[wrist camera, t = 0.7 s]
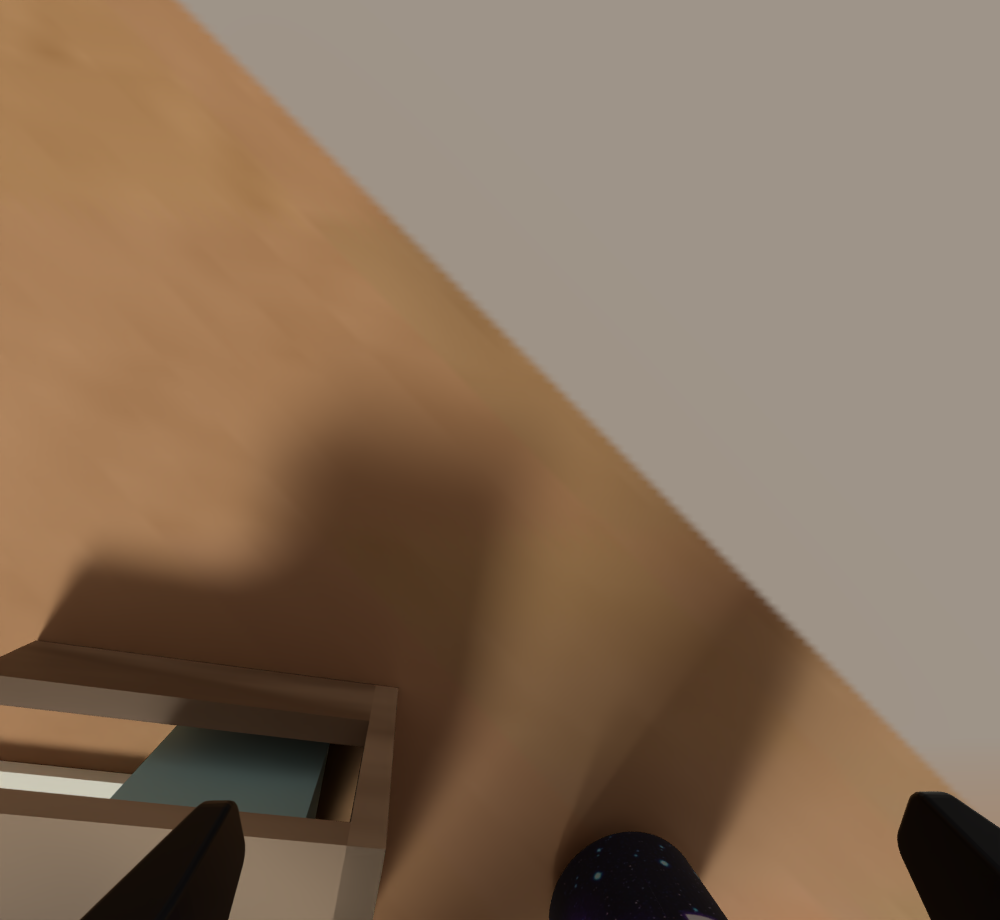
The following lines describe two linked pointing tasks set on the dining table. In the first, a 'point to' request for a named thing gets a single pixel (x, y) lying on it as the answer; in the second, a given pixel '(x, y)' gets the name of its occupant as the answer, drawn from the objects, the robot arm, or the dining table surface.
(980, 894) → the robot arm
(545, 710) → the dining table surface
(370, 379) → the dining table surface
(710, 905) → the beverage can
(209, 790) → the tethered block
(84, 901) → the shelf lane
